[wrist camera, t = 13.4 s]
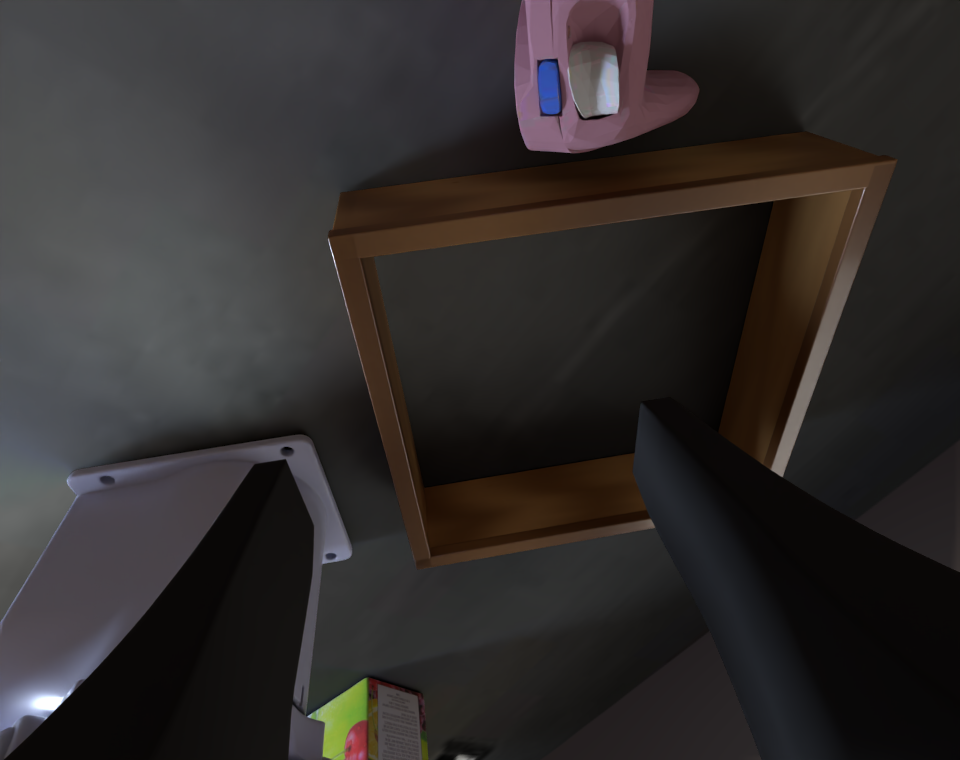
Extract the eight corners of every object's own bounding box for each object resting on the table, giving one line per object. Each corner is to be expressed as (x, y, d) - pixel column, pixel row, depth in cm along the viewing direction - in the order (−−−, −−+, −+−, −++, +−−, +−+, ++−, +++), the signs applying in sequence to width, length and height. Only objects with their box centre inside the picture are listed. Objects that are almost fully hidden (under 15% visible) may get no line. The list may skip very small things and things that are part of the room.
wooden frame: (412, 499, 25) (416, 570, 22) (337, 190, 17) (326, 236, 13) (726, 446, 26) (771, 507, 23) (808, 128, 18) (898, 158, 14)
